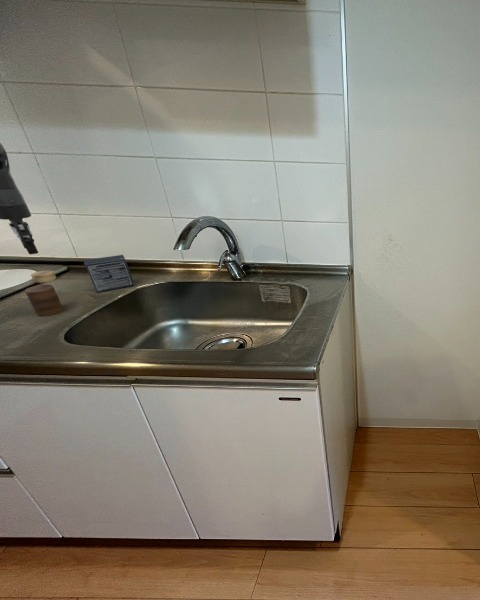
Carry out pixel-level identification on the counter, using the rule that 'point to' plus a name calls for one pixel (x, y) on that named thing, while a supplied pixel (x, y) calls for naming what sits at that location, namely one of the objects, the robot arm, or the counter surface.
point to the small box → (109, 273)
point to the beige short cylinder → (43, 276)
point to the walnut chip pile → (44, 300)
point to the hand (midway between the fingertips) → (31, 250)
